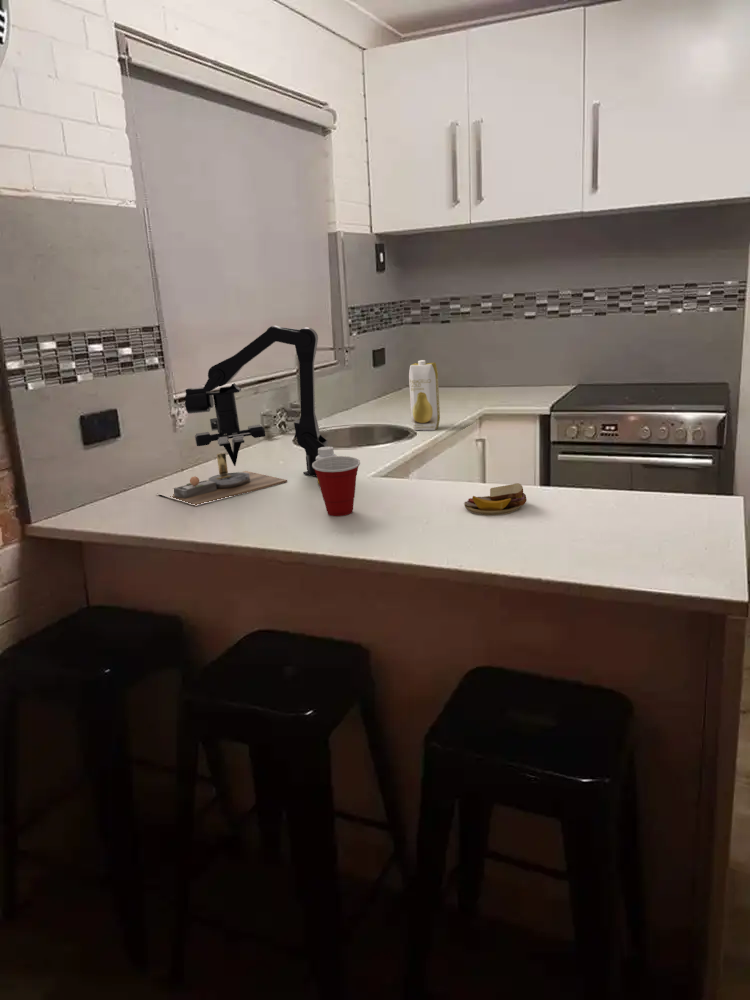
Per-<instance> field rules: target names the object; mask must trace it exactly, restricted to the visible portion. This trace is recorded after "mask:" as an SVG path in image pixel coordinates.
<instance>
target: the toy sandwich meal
mask: <svg viewBox="0 0 750 1000" xmlns="http://www.w3.org/2000/svg"><path fill="white" fill-rule="evenodd" d="M526 502H527V495H526V494H525V492H524V487H523V485H522V484H521V483H517V482H515V483H513V484H512V483H511V484H506V485H500V486H494V487H490V489H489V495H487V496H486V495H485V496H475V495H473V496H472V498H471V497H470V498H468V500H467V501H464V503H463V504H464V507H465V509H466V510H468V511H469V512H470V513H473V514H476V515H484V516H496V515H497V516H498V515H499V516H500V515H507V514H511V513H514V512H516V511H518V509H519V508H521V506H523V505H525V504H526Z"/></svg>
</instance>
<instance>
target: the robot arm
mask: <svg viewBox="0 0 750 1000" xmlns="http://www.w3.org/2000/svg"><path fill="white" fill-rule="evenodd" d="M276 342H277V343H281V344H287V345H292V346H294V347H295V353H296V356H297V358H298V363H299V397H300V398H299V399H300V401H299V402H300V418H299V419H296V420H295V421H294V423H293V426H294V430H295V431H294V432H295V433H294V439H296V442H297V444H298V445H299V446H300V447H301V448H303V449H304V451H305V461H306V470H307V471H303V473H302V474H303V475H307V476H311V477H315V478H317V474H316V472H315V470H314V468H313V467H312V463H313V462H315V461H316V456H318V448H321V447H328V443H329V441H328V439H326V438H325V437H324V436H322V434H321V433H320V428H319V422H318V419H317V416H316V405H315V404H316V401H315V399H316V397H315V395H316V394H315V359H316V354H317V349H318V348H317V347H318V343H319V335H318V333H317V331H316V330H315V329H313V328H312V327H308V326H307V327H302V328H301V329H295V328H290V327H288V328H287V327H281V326H279V325H271V326H270V327H269V326H268V328H267V329H266V331H264V332H262V334H261V335H259V336H258V337H256V338H255V339H254V340H252V341H250V343H249V344H247V345H246V346H244V347H243V348H242V349H241V350H239V351H238V352H236V353H235V354H234V355H232V356H230V357H228V358H226V359H224V360H222V361H220V362H218V363H216V364H214V365H212V366H211V367H210V368H209V369H208V371H207V377H208V378H207V381H206V383H205V384H204V386H203V387H198V388H197V387H195V388H192V387H190V388H187V389H185V395H184V396H185V399H184V400H185V401H184V405H185V409H186V412H187V413H188V415H190V414H198V413H199V414H200V413H210V411H211V408H214V409H215V410H214V411H215V415H216V417H215V418H210V419H209V422H210V427H211V432H215V431H217V433H214V434H213V433H212V434H210V432H209V431H207V432H206V431H205V432H199V433H195V434H194V440H195V444H196V447H203V446H208V445H210V444H211V443H212V442H215V441H217V444H218V446H219V447H223V448H224V450H226V452H227V455H228V456H229V458H230V460H231V462H232V464H233V466H234V467H236V465H237V460H238V456H239V450H240V448H241V445H242V444H244V443H245V439H244V438H245V437H249V436H250V437H252V438H254V439H257V438H264V437H266V429H265V427H264V426H263V425H261V424H254V425H249V426H247V429H240V422H239V417H238V416H239V415H238V410H237V403H236V396H235V393H239V392H242V388H241V387H239V386H238V385H237V384H236V383H232V384H231V386H225V385H226V384H229V383H230V382H231V381H232V380H233V379H234V378H235V377H236V376H237V375H238V373H240V371H241V370H242V369H243V368H244V366H245V365H247V364H249V362H251V361H252V360H253V359H255V358H256V357H257V356H260V354H261V353H263V352H264V351H265V350H266V349H268V348H269V347H271V346H272V345H273V344H274V343H276ZM223 386H224V387H223ZM218 387H220V388H219V391H213V390H215V389H217V388H218ZM230 439H231V442H230Z"/></svg>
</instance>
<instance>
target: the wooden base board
mask: <svg viewBox="0 0 750 1000" xmlns="http://www.w3.org/2000/svg"><path fill="white" fill-rule="evenodd" d="M242 472H246V473H249V475H250V482H248V483H246V484H244V485H241V486H237V487H232V488H221V489H220V488H216V483H211V484H207V485H198V486H195V488H191V489H187V490H183V489H182V487H185V486H189V485H191V483H190V482H188V483H185V485H182V486H177V487H173V489H174V494H173V496H172V497H173V498H176V499H179V500H182V501H185V502H188V503H191V504H195V505H197V504H201V503H204V502H209V501H213V500H217V499H221V498H225V497H229V496H233V497H235V496H234V495H237V496H239V495H238V494H241V495H243V494H242V493H245V494H248V493H252V492H255V491H259V490H262V489H268V488H271V487H274V486H278V485H281V484H286V483H288V479H285V478H280V477H277V476H271V475H267V474H262V473H259V472H258V473H257V472H252V471H249V470H243V471H242ZM205 481H209V479H208V480H202V481H199V483H201V482H205ZM251 491H252V492H251ZM247 492H248V493H247ZM170 497H171V496H170Z"/></svg>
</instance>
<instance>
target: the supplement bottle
mask: <svg viewBox="0 0 750 1000" xmlns="http://www.w3.org/2000/svg"><path fill="white" fill-rule="evenodd" d="M334 452H335V450H334V447H333V446H327V447H321V448H318V456H316V460H319V459H322V458H327V457H335V456H337V454H335V453H334ZM316 478H317V477H316ZM317 485H318V488H320V484H319V481H318V478H317Z"/></svg>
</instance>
